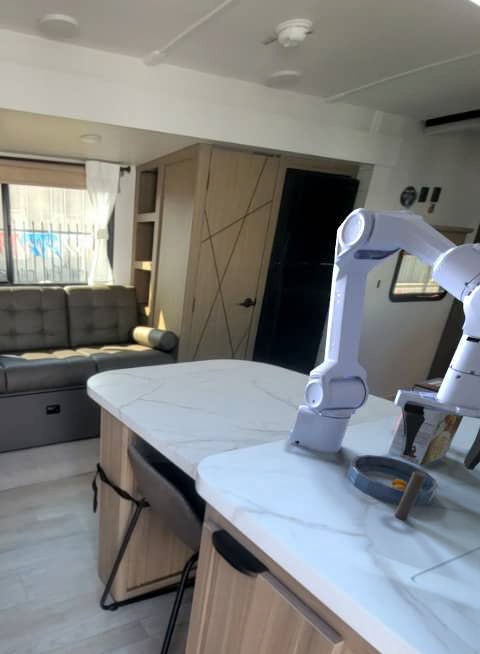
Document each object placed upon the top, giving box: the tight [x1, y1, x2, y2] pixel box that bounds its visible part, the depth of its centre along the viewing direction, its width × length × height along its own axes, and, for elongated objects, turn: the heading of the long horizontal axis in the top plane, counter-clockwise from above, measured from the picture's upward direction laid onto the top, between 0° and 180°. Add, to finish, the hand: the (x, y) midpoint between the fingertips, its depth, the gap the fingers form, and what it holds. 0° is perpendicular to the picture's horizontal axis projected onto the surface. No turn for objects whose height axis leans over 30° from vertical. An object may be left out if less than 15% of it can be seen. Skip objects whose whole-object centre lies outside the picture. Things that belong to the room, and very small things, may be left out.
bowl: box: [346, 454, 439, 508], centre depth 70 cm, size 12×12×4 cm
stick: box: [393, 471, 427, 521], centre depth 60 cm, size 3×3×9 cm
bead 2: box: [392, 484, 406, 490], centre depth 68 cm, size 2×2×2 cm
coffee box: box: [387, 377, 464, 466], centre depth 78 cm, size 9×6×16 cm
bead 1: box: [391, 478, 407, 488], centre depth 70 cm, size 2×2×2 cm
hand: (435, 459), depth 60 cm, fingers open, 7 cm apart
